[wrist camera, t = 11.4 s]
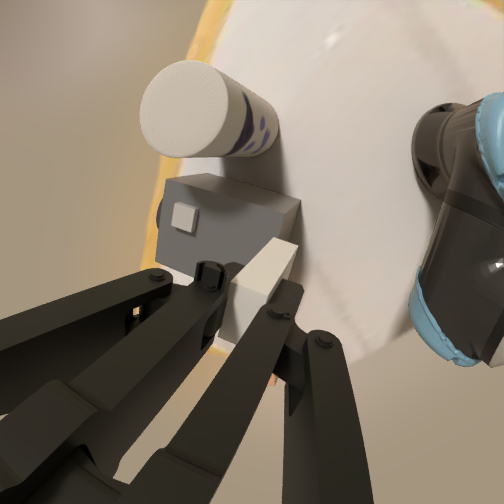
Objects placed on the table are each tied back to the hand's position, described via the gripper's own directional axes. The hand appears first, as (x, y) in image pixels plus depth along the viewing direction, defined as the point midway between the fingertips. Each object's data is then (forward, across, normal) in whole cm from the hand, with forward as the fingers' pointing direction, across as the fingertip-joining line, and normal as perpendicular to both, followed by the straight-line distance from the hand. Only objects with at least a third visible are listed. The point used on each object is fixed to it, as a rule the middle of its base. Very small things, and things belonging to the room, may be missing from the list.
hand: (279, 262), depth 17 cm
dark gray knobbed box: (+28, -12, -7) cm, 32 cm away
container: (+29, -14, +8) cm, 33 cm away
